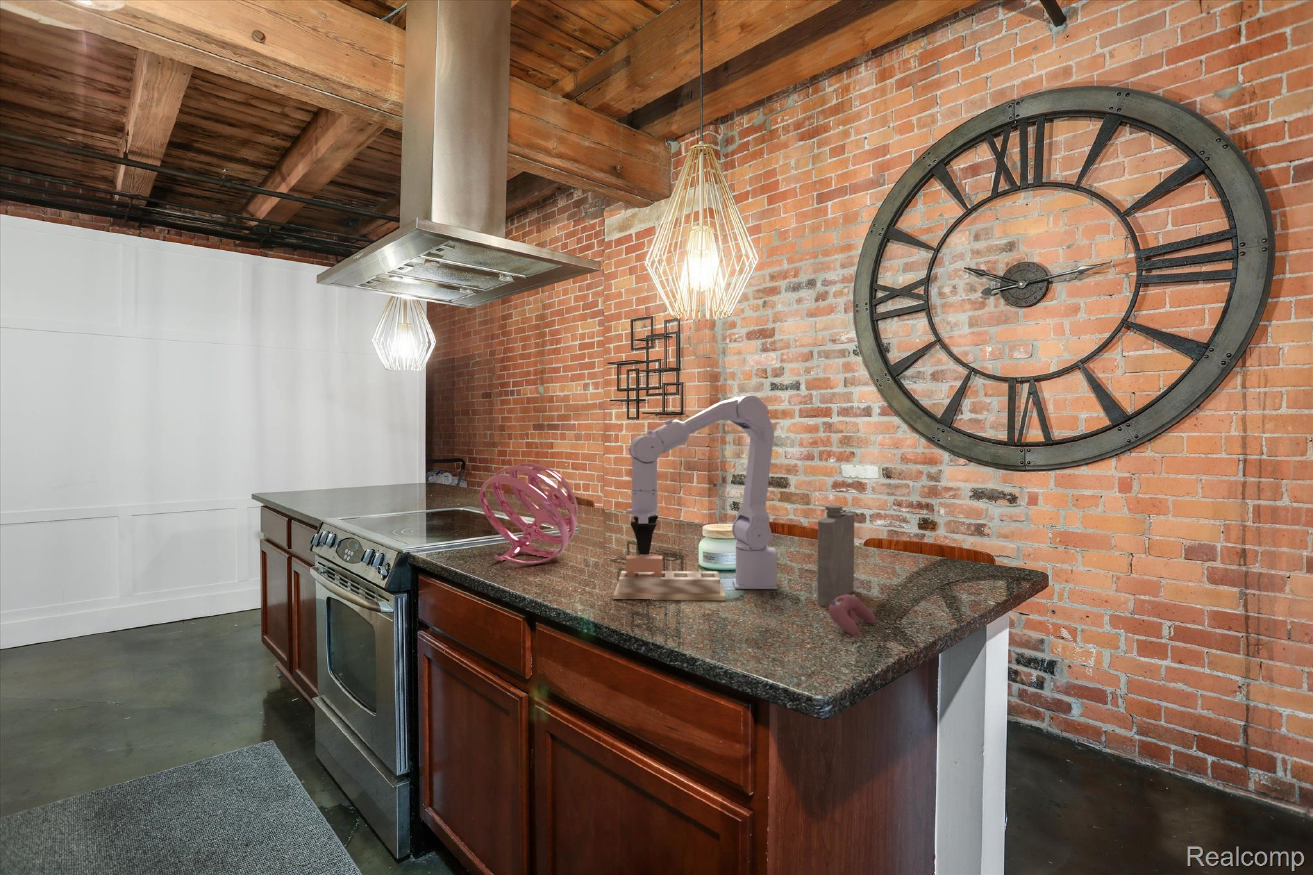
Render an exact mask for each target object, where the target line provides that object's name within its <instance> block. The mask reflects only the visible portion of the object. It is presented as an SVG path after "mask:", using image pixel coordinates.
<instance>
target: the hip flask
mask: <svg viewBox="0 0 1313 875" xmlns="http://www.w3.org/2000/svg"><path fill="white" fill-rule="evenodd" d="M824 510H826V513H825V514H826V516H824V517H821V519H819V520H817V588H816V589H817V593H816V594H817V596H816V597H817V600H816V601H817V602H816V603H817V605H818V606H820V607H821V606H822V607H829V606H830V605H831V604H832V603H833V601H834V600H835V599H836V598H837V597H838V596H841V595H845V594H848V595H850V594H851V593H854V590H855V588H854V587H855V586H854V584H855V581H854V580H855V513H853V512H852V513H851V512H842V511H843V506H841V505H836V504H835V505H831V504H829V505H825V508H824Z"/></svg>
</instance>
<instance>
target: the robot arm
mask: <svg viewBox="0 0 1313 875" xmlns="http://www.w3.org/2000/svg"><path fill="white" fill-rule="evenodd" d="M768 408H769V407H768V406H767V405H766V404H765V402H764V401H763V400H761V398H759V397H758V396H756V395H752V394H750V395H745V396H733V397H731V398H730V399H725V400H722V401H720V402H717V403H715V404H713V405H711V406H710V407H707V408H706V409H705V410H702V411H701V412H700V411H699V412H698V413H697V414H695V415H693V416H691V417H689V418H688V419H686V420H684V421H681V420H679V419H674V420H672V419H667V420H665V421H664V424H663V425H661V426H659V427H657V428H655V429H649V430H647V431H646V435H639V436H636V437H635V438H633V440H632V441H631V442H630V443H629V444H630V445H629V448H628V453H629V456H630V457H631V460H632V461H631V466H632V467H631V508H627V509H626V513H627V514H632V515H634V516H633V520H634V521H630V526H631V529H632V531H633V532H634V537H635V540H636V545H637V550H638V554H639V556H650V552H651V546H652V541H653V535H654V531H655V529H656V527H657V525H658V523H657V521H658V518H659V515H658V514H659V512H660V511H659V508H658V506H659V505H658V501H659V498H658V490H659V489H658V459H659V458H660V455H664V454H666V453H668V452H669V451H672V450H673V449H676V448H678V447H679V446H682V445H683V444H685V443H687V442H688V440H689V437H690V435H691V434H693V433H695V432H697V431H699V430H703V429H704V428H706V427H709V426H710V425H712V424H715V423H718V422H719V421H730V422H731V423H733V424H734V425H736V426H738V427H740V428H741V429H742V430H743V431H744V432H745V434H747V436H748V437H749V447H748V455H747V462H746V464H747V465H746V470H745V471H746V472H745V473H746V475H745V481H744V488H743V498H742V504H741V506H740V507H739V509H738V510H737V516H736V518H735V520H734V521H733V524H732V526H731V532H732V535H733V538H735V539H736V543H735V577H733V578H732V582H733V585H734V588H735V589H738V590H777V589H778V556H777V549H776V548H775V547H768V545H769V544H770V543H771V540H772V536H773V535H772V534H773V533H772V530H771V527H770V519H771V518H770V515H769V513H768V511H767V508H766V506H767V499H768V498H767V497H768V489H769V478H770V472H771V471H770V470H771V462H772V454H773V453H772V452H773V446H774V445H773V444H774V437H775V430H774V427H773V425H772V422H771V418H770V416H769V413H768Z"/></svg>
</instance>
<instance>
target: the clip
mask: <svg viewBox="0 0 1313 875" xmlns="http://www.w3.org/2000/svg"><path fill="white" fill-rule="evenodd" d="M625 571H626V572H627V577H635V572H654V577H662V571H663V555H626V558H625Z"/></svg>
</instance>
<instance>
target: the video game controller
mask: <svg viewBox="0 0 1313 875" xmlns="http://www.w3.org/2000/svg"><path fill="white" fill-rule="evenodd" d="M828 611H829V615H830V617H831V619H832V620H833V621H834V622H835V623H836V624H837V625H838V626H839V627H840V628H841V629H842V630H843V632H845V633H847V634H848V635H850V636H857V635H858V634H859V627H858V625H857V623H858V618H859V619H860V620H861V621H863V622H865V623H867V624H871V625H873V624H875V623H876V616H875V614H874V612H873V611H872V610H871V608H868V607H867V605H865V604H864V603H863V601H862V600H861V599H860V598H859V597H858V596H856V595H855V594H854V593H853V594H845V595H841V596H838V597H837V598H836V599H835V600H834V601H833V603H832V604H831V605H830V606H828Z"/></svg>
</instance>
